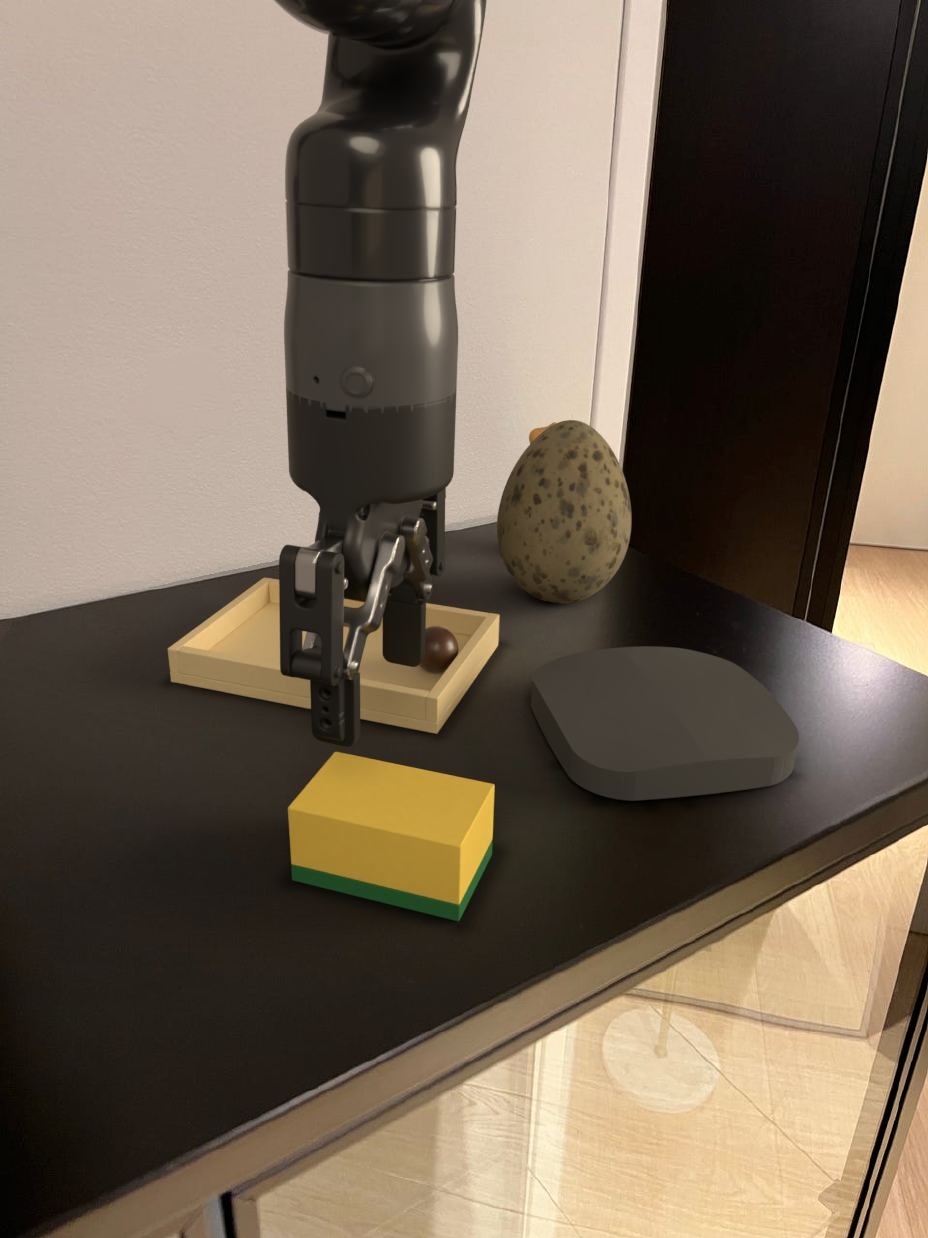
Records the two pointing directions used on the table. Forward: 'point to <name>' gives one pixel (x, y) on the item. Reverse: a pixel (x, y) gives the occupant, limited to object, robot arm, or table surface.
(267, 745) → the table surface
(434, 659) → the ball
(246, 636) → the tray
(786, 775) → the media streaming box
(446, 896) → the sponge
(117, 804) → the table surface
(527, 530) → the decorative egg
